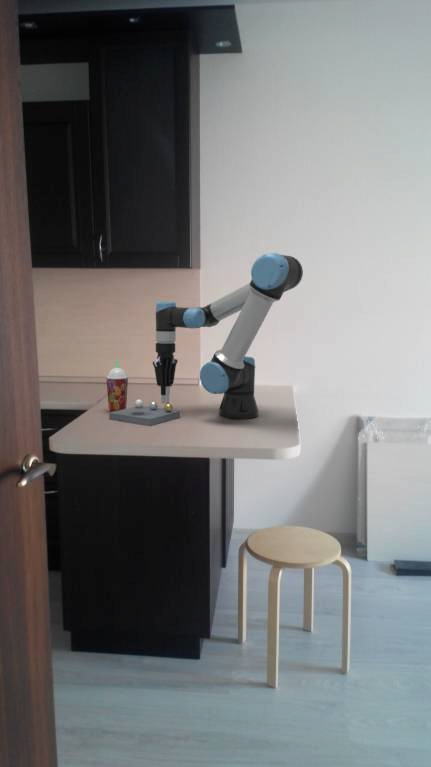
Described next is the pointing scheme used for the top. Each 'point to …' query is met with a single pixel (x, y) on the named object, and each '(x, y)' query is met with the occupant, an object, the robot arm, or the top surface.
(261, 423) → the top surface
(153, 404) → the steel ball
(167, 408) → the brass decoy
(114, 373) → the smoothie
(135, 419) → the bearing plate
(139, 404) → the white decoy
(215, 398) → the top surface
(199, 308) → the robot arm
